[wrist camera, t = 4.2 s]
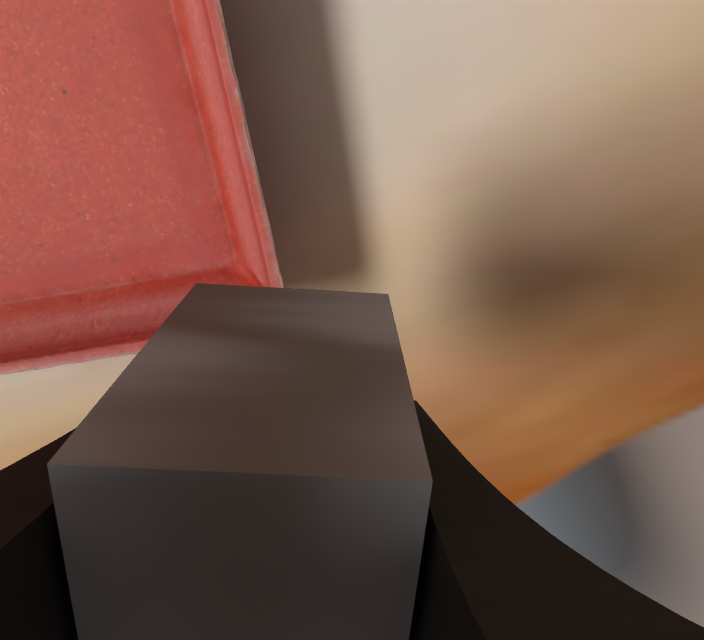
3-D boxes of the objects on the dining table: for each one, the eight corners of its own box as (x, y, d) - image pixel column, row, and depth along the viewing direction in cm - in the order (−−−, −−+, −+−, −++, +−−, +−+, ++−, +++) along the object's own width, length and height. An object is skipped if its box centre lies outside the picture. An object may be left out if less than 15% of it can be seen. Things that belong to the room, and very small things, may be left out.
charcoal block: (205, 479, 13) (100, 763, 7) (196, 282, 11) (46, 463, 5) (369, 486, 13) (388, 769, 7) (388, 294, 11) (432, 480, 6)
